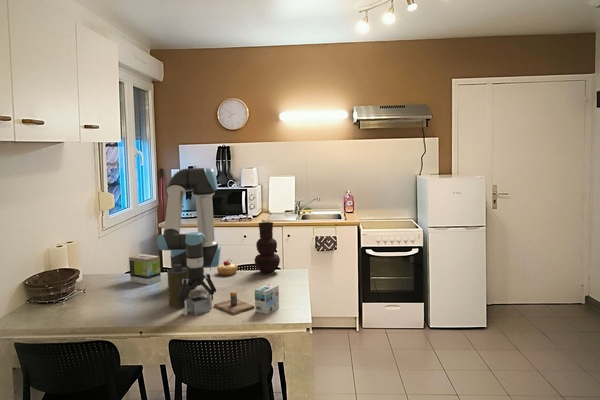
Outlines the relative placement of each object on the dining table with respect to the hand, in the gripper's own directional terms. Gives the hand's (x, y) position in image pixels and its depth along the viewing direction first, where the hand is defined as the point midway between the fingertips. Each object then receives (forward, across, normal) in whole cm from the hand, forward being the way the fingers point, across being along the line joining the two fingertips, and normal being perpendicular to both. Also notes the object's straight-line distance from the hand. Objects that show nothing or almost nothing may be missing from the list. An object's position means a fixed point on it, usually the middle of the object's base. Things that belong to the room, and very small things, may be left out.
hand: (197, 311), depth 234 cm
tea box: (0, +6, +67) cm, 67 cm away
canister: (0, -1, +15) cm, 15 cm away
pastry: (0, +48, +46) cm, 67 cm away
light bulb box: (0, +24, -22) cm, 33 cm away
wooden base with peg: (0, +15, -8) cm, 17 cm away
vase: (0, +65, +30) cm, 72 cm away
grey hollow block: (0, 0, 0) cm, 0 cm away
